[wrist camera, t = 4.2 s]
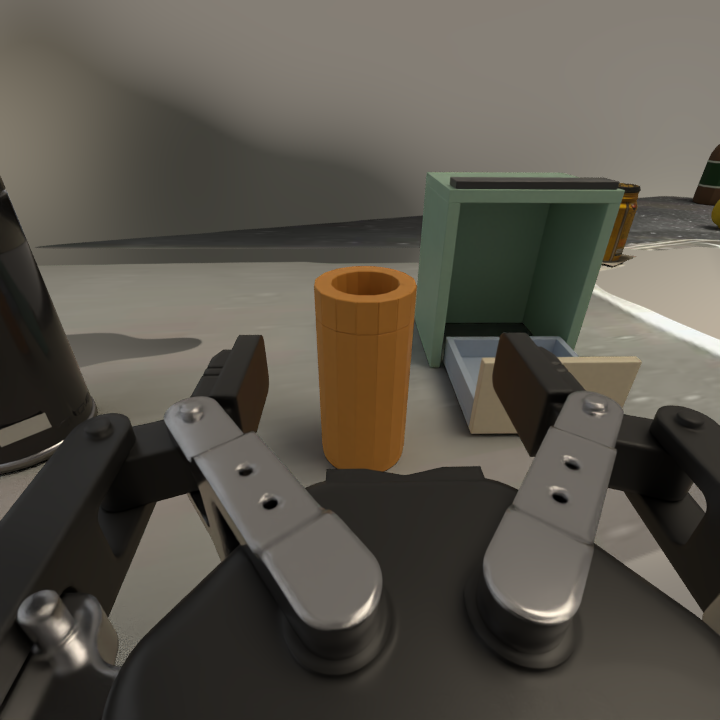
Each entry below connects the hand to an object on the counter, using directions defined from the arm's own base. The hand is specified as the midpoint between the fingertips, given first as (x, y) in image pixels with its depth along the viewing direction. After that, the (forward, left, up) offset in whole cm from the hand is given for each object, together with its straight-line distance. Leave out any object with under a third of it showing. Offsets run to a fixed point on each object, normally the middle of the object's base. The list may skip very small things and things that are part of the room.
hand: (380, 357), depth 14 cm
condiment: (+44, +58, -15) cm, 74 cm away
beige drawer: (+14, +17, -14) cm, 26 cm away
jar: (0, +11, -14) cm, 18 cm away
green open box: (+14, +28, -14) cm, 34 cm away
